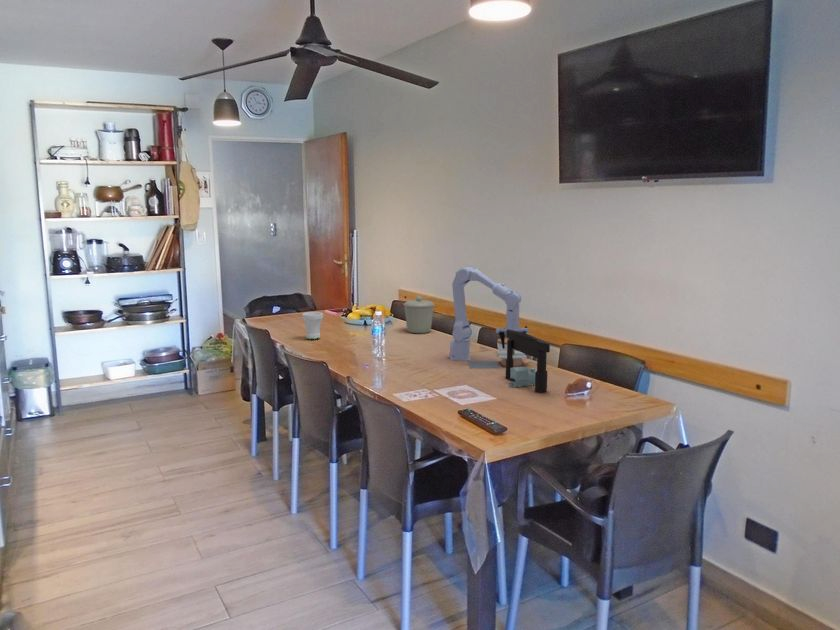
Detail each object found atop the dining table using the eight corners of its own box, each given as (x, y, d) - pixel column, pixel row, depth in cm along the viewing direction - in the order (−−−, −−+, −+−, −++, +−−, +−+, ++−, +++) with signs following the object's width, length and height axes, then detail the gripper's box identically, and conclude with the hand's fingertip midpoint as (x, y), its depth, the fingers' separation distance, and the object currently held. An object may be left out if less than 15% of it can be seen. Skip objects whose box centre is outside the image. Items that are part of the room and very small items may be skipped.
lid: (500, 358, 296) (500, 347, 296) (497, 352, 308) (497, 341, 307) (527, 358, 296) (527, 347, 296) (522, 352, 308) (522, 341, 307)
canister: (441, 331, 381) (441, 295, 378) (419, 336, 368) (419, 299, 365) (418, 327, 393) (418, 292, 390) (396, 332, 380) (396, 295, 377)
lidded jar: (518, 358, 316) (518, 339, 314) (495, 357, 318) (496, 338, 316) (519, 353, 326) (520, 335, 325) (497, 352, 328) (498, 334, 327)
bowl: (503, 367, 299) (503, 357, 298) (500, 362, 308) (500, 353, 307) (522, 367, 299) (523, 357, 298) (519, 362, 308) (519, 353, 307)
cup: (306, 336, 367) (305, 311, 364) (326, 337, 365) (325, 312, 363) (300, 340, 356) (299, 315, 353) (320, 341, 354) (319, 315, 352)
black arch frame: (522, 325, 285) (566, 340, 255) (521, 373, 289) (564, 393, 258) (490, 328, 279) (531, 343, 249) (489, 376, 283) (530, 397, 253)
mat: (469, 369, 295) (469, 368, 295) (467, 361, 309) (467, 361, 309) (500, 369, 295) (500, 368, 295) (496, 361, 309) (496, 361, 309)
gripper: (497, 320, 296) (497, 350, 298) (530, 320, 296) (529, 350, 298) (495, 317, 303) (495, 346, 305) (527, 317, 303) (526, 346, 305)
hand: (511, 348), depth 302 cm, fingers open, 7 cm apart
